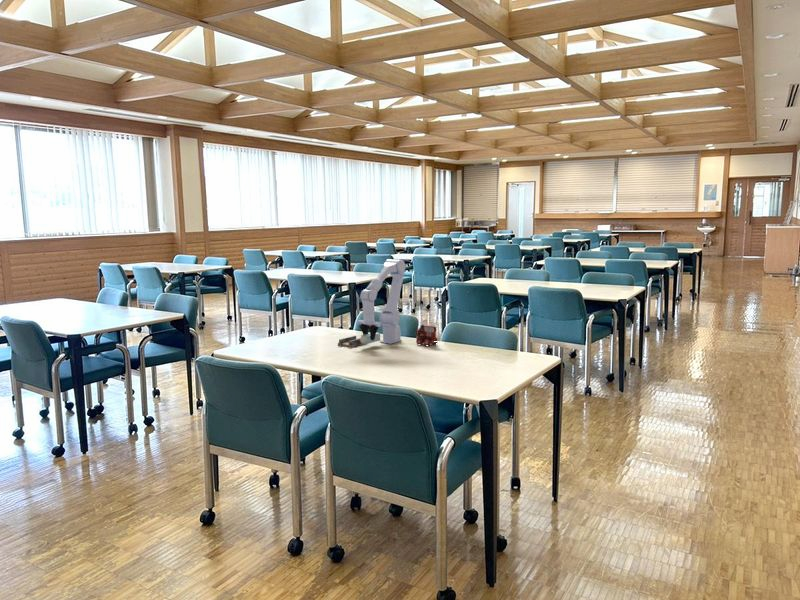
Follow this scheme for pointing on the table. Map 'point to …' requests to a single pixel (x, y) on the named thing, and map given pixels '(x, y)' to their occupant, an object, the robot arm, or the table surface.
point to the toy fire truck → (426, 335)
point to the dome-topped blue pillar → (369, 338)
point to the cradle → (350, 342)
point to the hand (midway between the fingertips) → (369, 339)
